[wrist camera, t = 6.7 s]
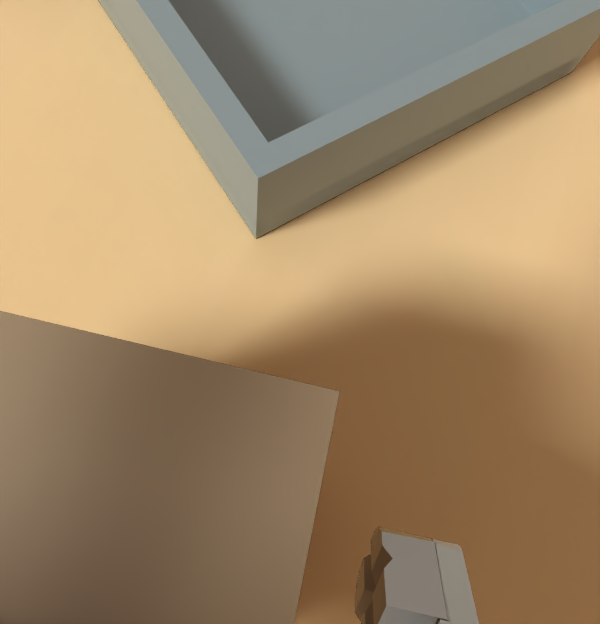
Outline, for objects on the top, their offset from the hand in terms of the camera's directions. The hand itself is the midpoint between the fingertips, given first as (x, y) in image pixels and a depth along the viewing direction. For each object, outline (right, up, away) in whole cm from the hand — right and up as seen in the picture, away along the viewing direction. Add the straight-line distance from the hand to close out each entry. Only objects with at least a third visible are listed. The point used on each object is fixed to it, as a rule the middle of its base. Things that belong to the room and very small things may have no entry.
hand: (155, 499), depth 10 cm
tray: (+3, +15, +11) cm, 19 cm away
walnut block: (-1, -2, +5) cm, 5 cm away
